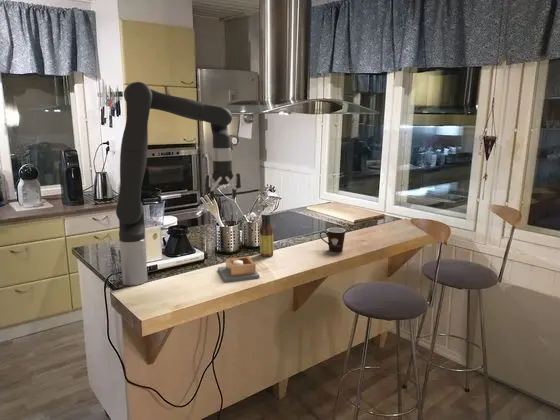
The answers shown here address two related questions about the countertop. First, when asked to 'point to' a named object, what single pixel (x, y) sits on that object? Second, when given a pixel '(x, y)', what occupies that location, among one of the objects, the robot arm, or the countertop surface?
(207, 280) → the countertop surface
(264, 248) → the sauce bottle
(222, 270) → the post base
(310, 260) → the countertop surface
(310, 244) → the countertop surface
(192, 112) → the robot arm
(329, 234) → the coffee mug
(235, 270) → the brown wooden open box
